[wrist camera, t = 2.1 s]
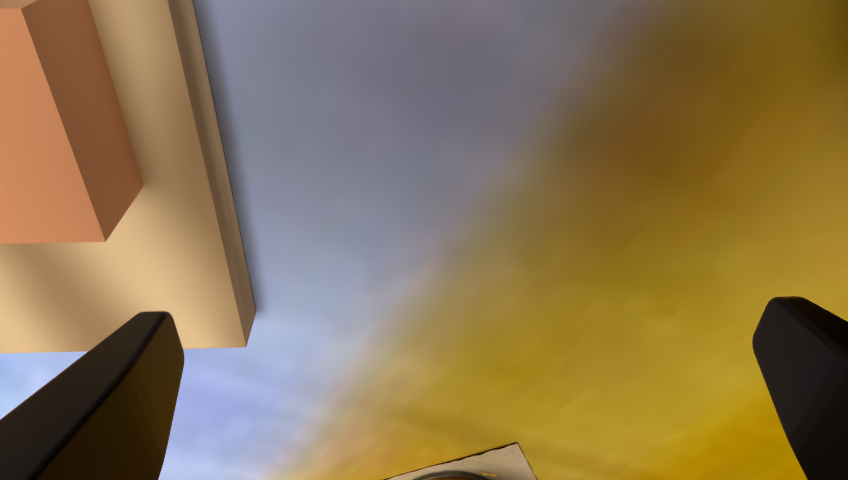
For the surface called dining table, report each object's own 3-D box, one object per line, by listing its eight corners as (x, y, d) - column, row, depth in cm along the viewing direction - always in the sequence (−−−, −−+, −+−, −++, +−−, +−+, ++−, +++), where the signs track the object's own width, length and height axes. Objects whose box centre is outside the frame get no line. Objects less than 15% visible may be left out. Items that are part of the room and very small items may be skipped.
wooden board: (112, -394, 13) (70, -426, 11) (255, 311, 24) (246, 346, 23) (-434, -407, 12) (-559, -441, 11) (-24, 317, 24) (-55, 354, 22)
